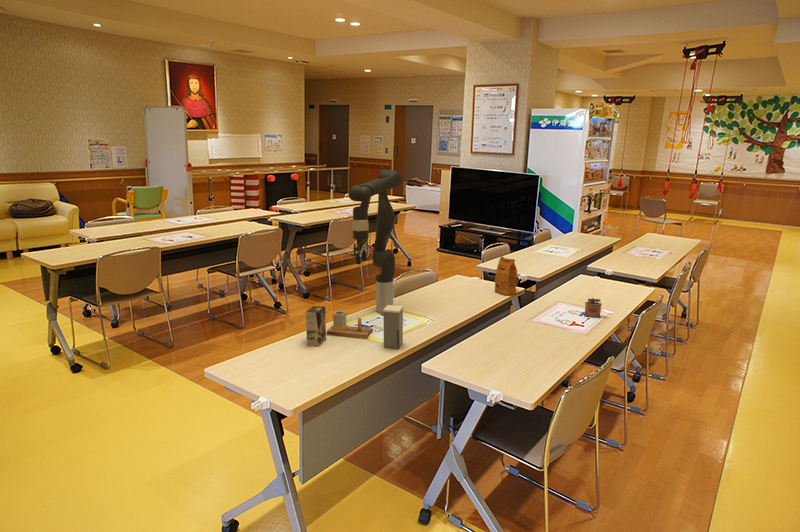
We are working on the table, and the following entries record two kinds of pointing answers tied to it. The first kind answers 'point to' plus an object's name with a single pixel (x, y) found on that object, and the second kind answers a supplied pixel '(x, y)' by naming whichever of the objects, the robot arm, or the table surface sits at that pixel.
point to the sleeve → (339, 321)
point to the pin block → (352, 331)
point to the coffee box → (316, 325)
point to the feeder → (393, 326)
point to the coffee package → (506, 277)
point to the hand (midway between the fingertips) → (361, 262)
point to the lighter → (593, 308)
